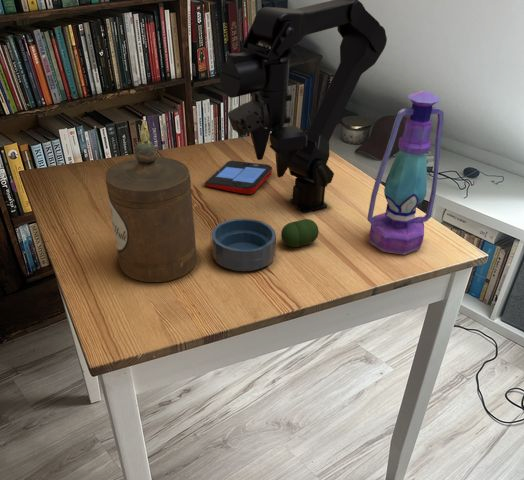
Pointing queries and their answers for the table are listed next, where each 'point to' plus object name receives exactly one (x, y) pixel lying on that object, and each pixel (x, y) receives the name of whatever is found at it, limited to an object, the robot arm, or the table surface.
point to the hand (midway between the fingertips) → (269, 167)
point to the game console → (240, 177)
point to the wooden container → (152, 217)
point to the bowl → (243, 244)
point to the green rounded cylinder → (299, 233)
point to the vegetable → (144, 140)
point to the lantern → (407, 179)
